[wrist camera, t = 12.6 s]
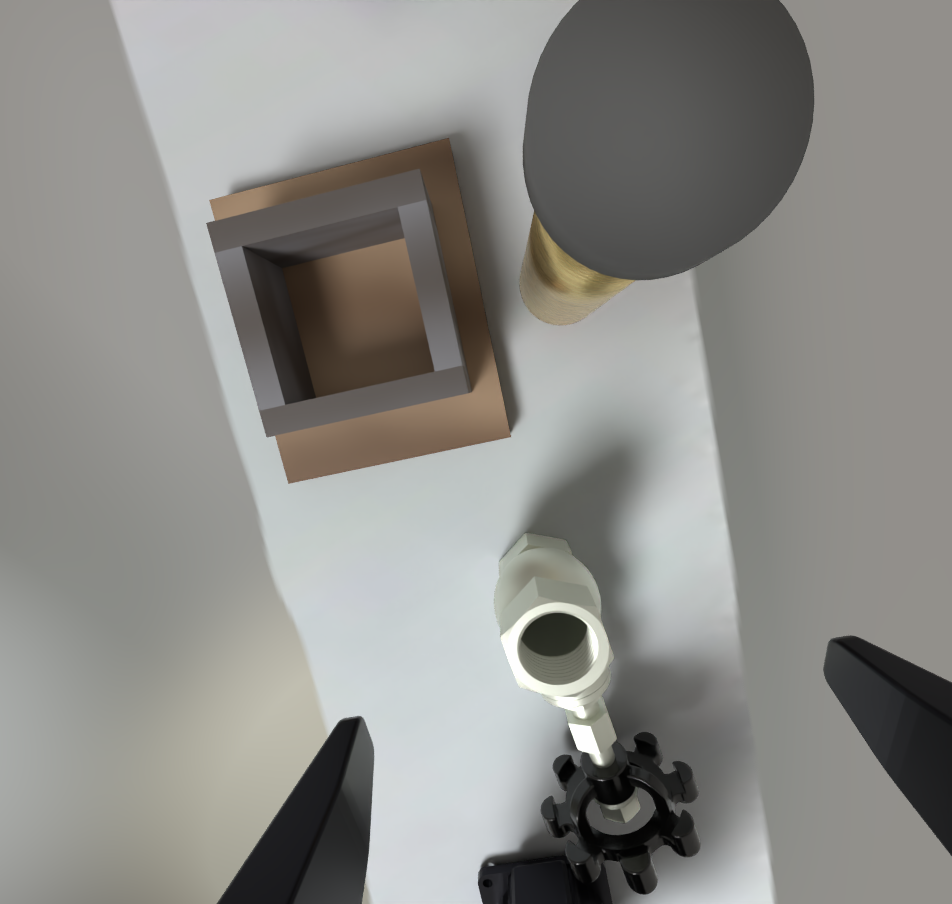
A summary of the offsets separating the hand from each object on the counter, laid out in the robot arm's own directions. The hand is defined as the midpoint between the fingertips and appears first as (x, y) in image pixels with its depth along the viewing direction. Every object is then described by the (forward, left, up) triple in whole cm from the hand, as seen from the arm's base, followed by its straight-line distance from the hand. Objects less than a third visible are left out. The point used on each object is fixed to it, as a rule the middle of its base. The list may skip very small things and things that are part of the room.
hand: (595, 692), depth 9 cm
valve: (-7, 0, -13) cm, 14 cm away
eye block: (+10, +6, -12) cm, 17 cm away
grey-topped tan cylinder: (+10, -3, -12) cm, 16 cm away
